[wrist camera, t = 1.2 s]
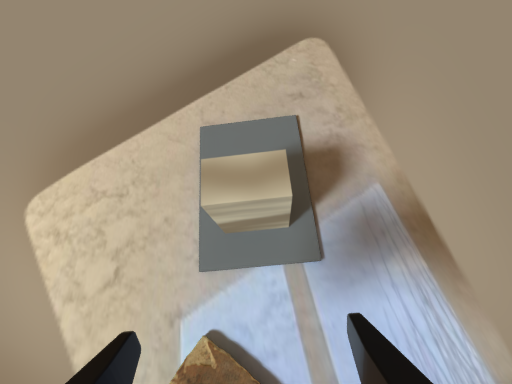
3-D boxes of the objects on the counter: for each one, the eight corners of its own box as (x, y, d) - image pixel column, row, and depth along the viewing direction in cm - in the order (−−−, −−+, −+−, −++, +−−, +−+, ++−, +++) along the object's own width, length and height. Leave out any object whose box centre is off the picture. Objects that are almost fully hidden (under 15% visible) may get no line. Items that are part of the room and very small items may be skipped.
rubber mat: (320, 260, 22) (321, 260, 22) (200, 271, 23) (199, 271, 23) (295, 117, 29) (295, 114, 28) (201, 129, 29) (200, 126, 29)
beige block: (288, 227, 23) (292, 195, 16) (225, 233, 24) (200, 205, 16) (284, 192, 25) (285, 149, 17) (224, 199, 25) (201, 159, 18)
